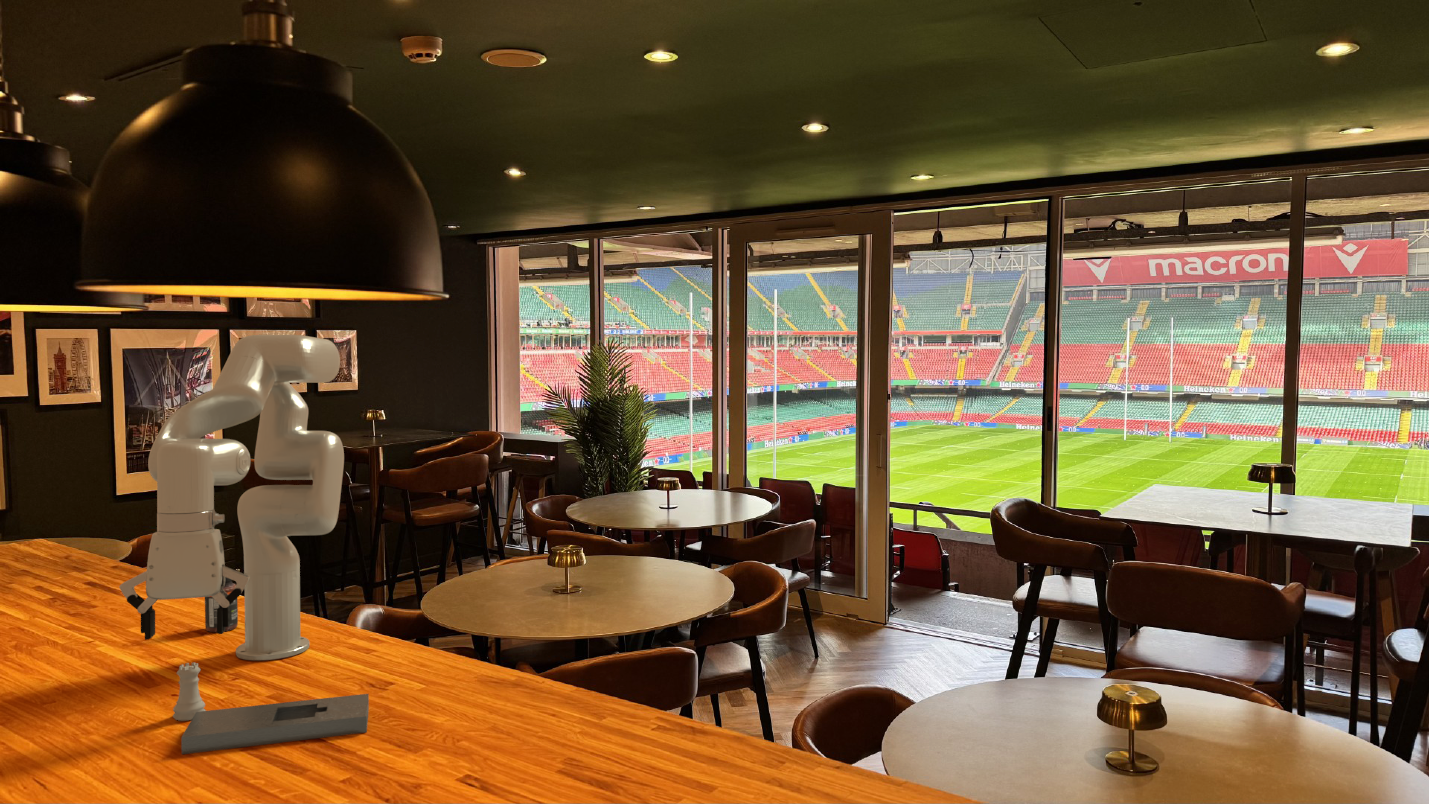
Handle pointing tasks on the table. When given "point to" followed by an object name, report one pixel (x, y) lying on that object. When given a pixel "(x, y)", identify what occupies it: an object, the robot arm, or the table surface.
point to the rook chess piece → (188, 693)
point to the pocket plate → (276, 723)
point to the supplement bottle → (213, 605)
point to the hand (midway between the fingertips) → (186, 634)
